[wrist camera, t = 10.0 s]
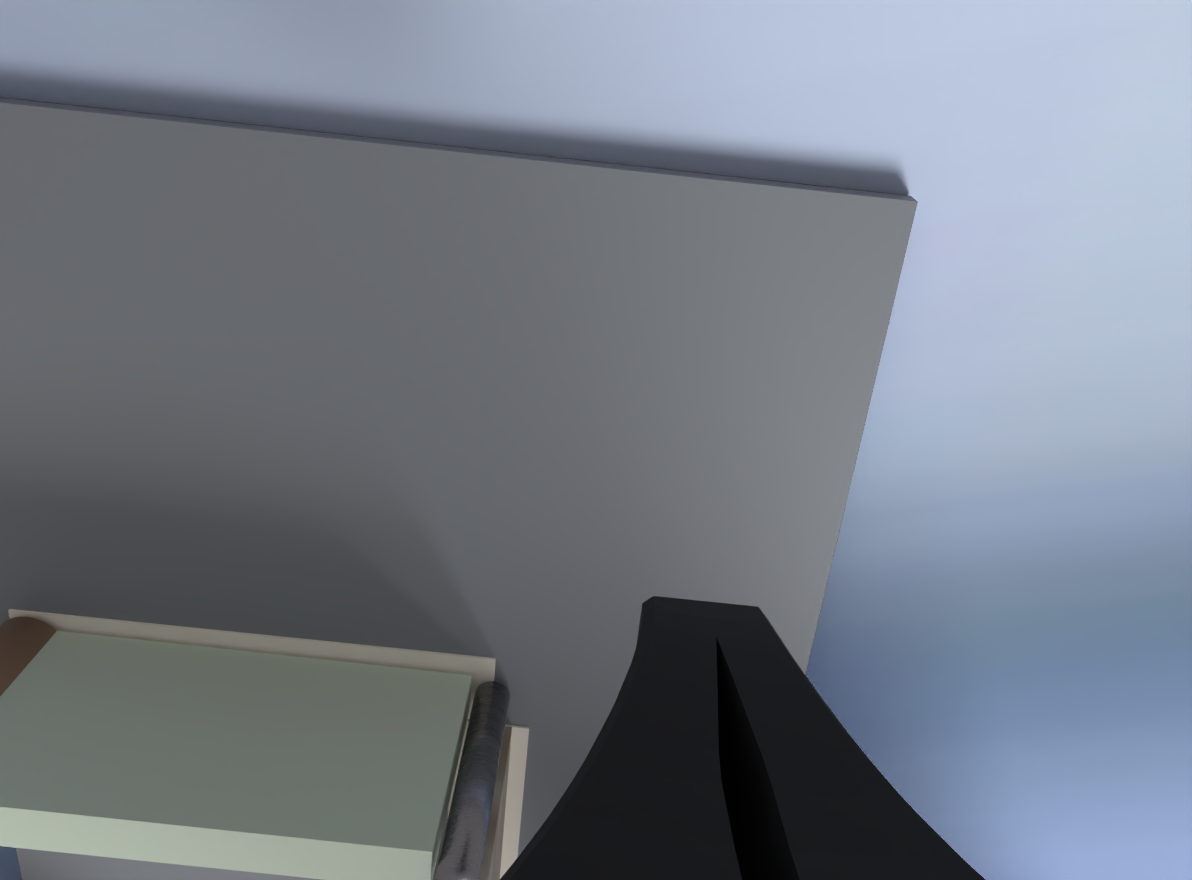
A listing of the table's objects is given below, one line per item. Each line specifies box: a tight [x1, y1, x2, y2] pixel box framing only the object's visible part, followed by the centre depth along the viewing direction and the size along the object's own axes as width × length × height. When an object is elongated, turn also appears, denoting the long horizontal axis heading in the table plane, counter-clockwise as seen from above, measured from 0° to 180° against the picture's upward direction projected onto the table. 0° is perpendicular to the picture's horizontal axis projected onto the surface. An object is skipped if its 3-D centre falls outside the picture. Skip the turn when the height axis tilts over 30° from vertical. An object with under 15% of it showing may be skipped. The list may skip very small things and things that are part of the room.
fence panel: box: [0, 617, 510, 880], centre depth 20 cm, size 12×2×5 cm, turn 84°
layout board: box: [0, 98, 917, 880], centre depth 23 cm, size 19×22×1 cm
